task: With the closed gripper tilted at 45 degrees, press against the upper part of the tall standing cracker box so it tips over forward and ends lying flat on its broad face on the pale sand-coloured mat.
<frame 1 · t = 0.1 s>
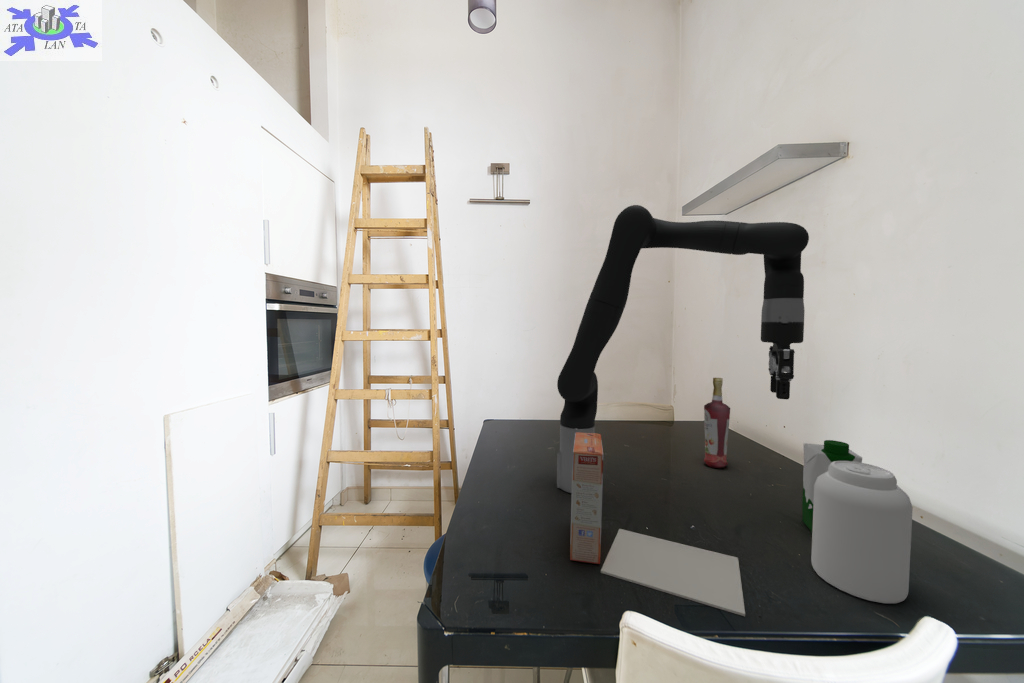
hand: (779, 395, 82), 29 cm above the table, tool pointing down, fingers open, 8 cm apart
mat: (671, 566, 70), on the table
milk carton: (827, 532, 83), on the table
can: (856, 581, 67), on the table
liquor: (715, 466, 121), on the table
cracker box: (586, 544, 77), on the table
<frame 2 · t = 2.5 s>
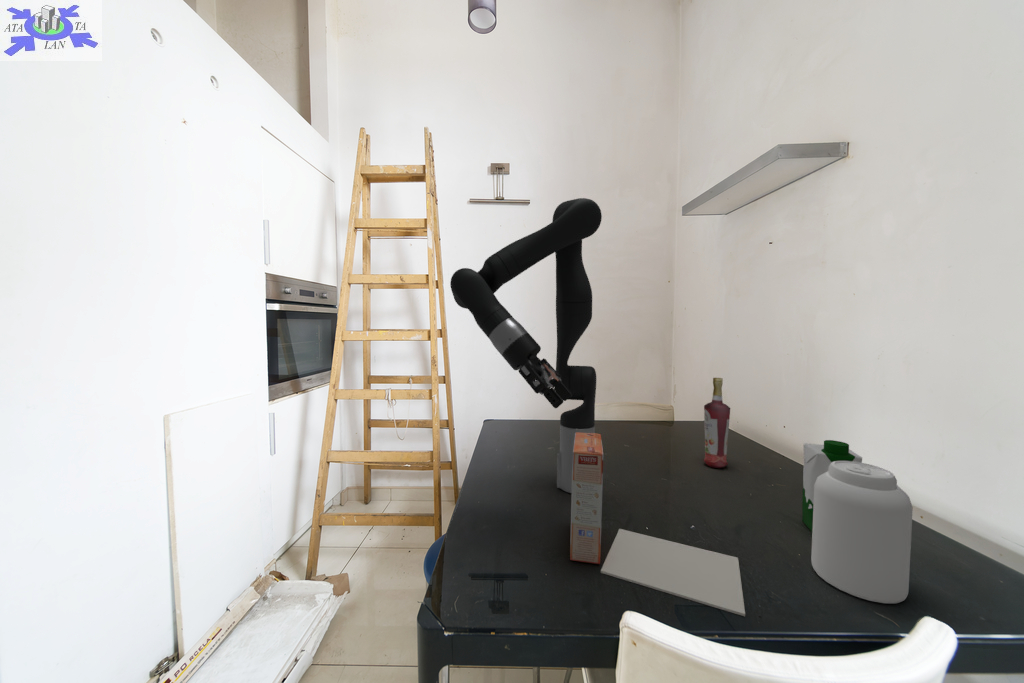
hand: (564, 401, 79), 28 cm above the table, tool tilted 45°, fingers open, 8 cm apart
nothing on the table moved.
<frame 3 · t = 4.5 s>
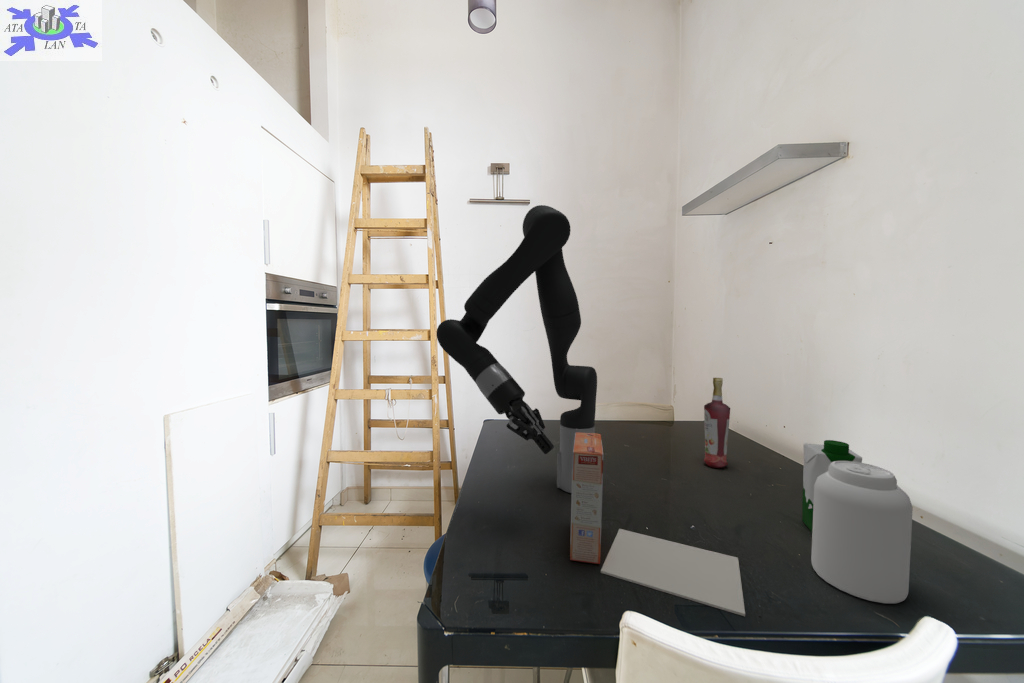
hand: (550, 450, 80), 18 cm above the table, tool tilted 45°, fingers closed
nothing on the table moved.
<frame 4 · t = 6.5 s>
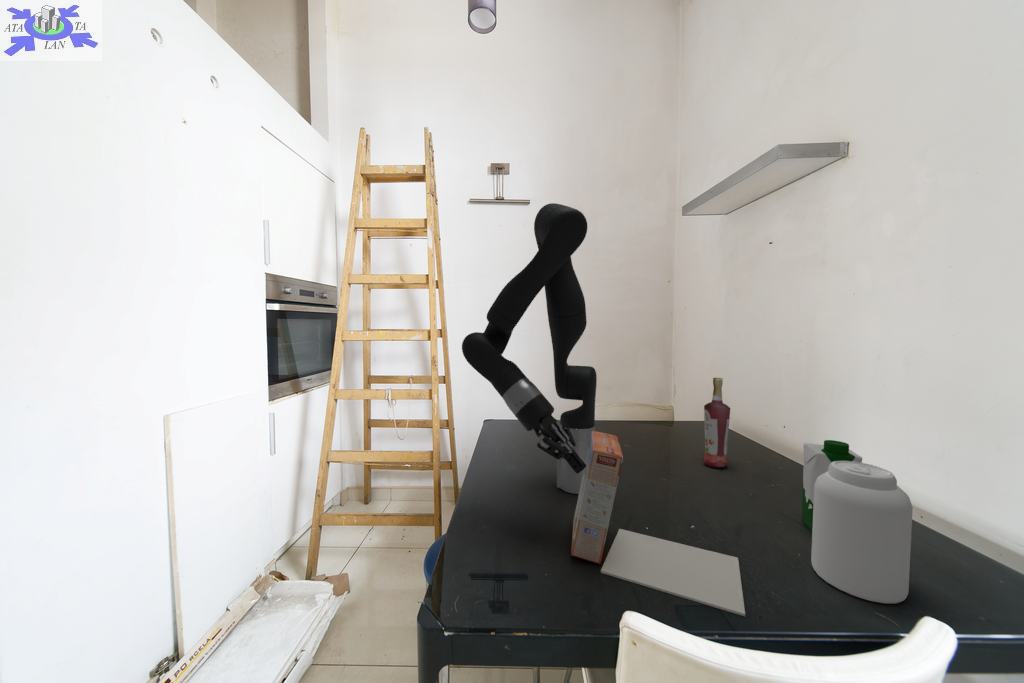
hand: (582, 470, 77), 15 cm above the table, tool tilted 45°, fingers closed
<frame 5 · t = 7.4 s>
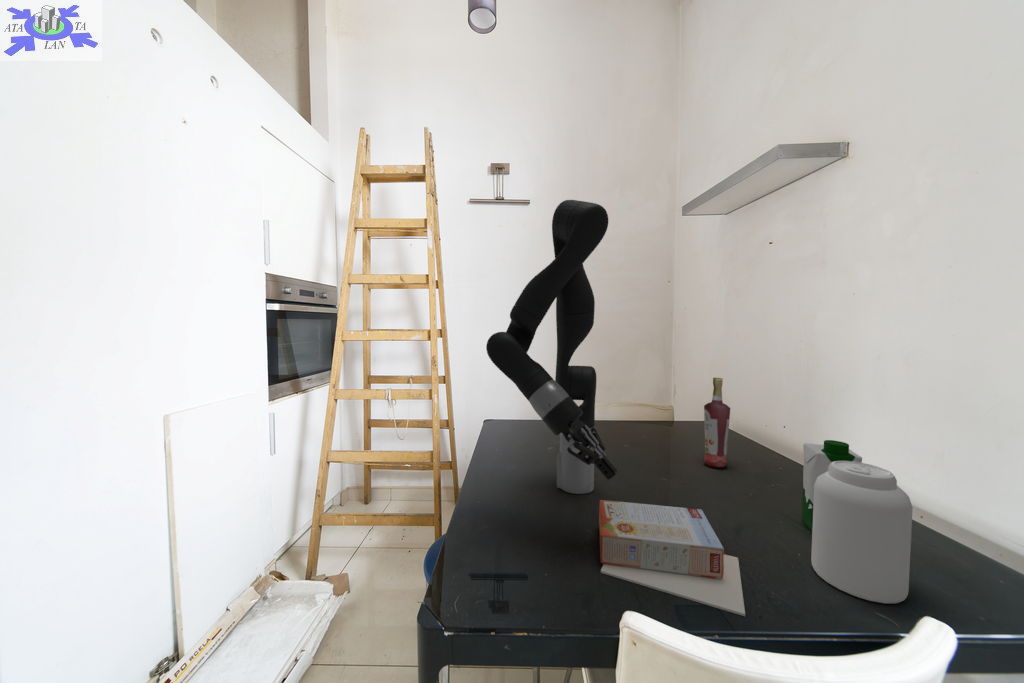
hand: (613, 475, 74), 15 cm above the table, tool tilted 45°, fingers closed
cracker box: (598, 529, 77), point 3 cm above the table, touching mat
everything else where it was.
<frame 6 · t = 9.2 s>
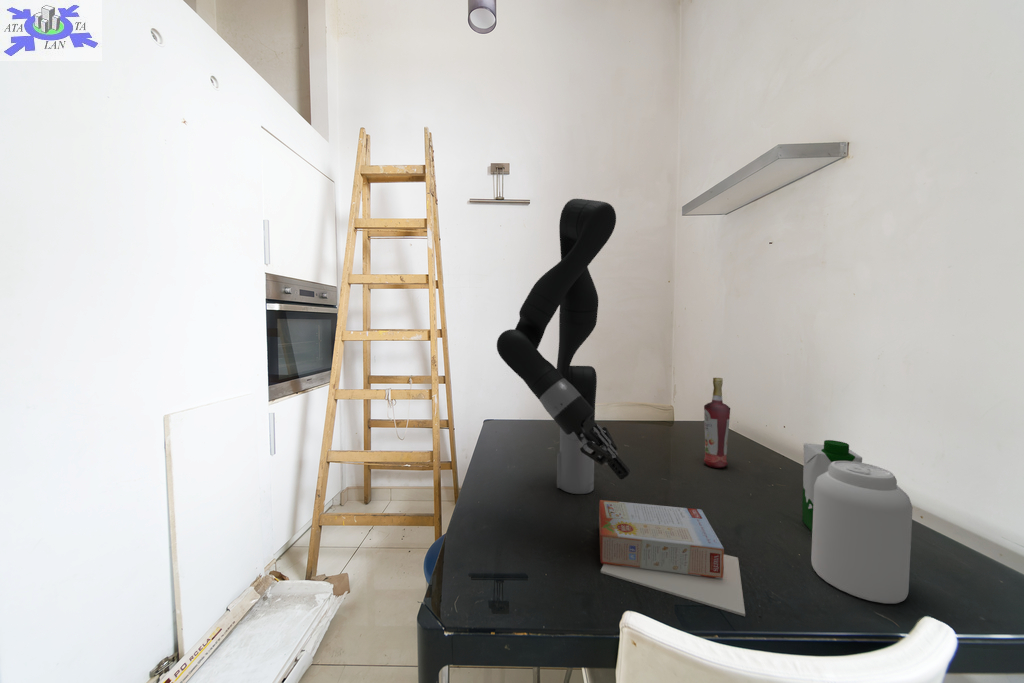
hand: (626, 475, 73), 15 cm above the table, tool tilted 45°, fingers closed
nothing on the table moved.
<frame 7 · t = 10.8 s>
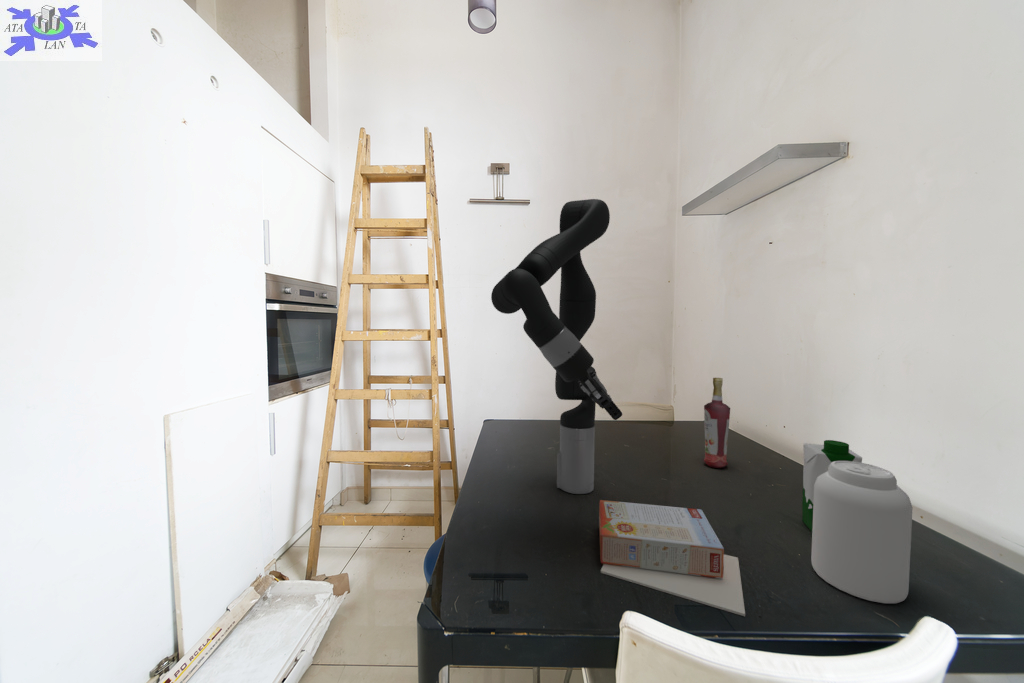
hand: (618, 416, 80), 25 cm above the table, tool tilted 40°, fingers closed
nothing on the table moved.
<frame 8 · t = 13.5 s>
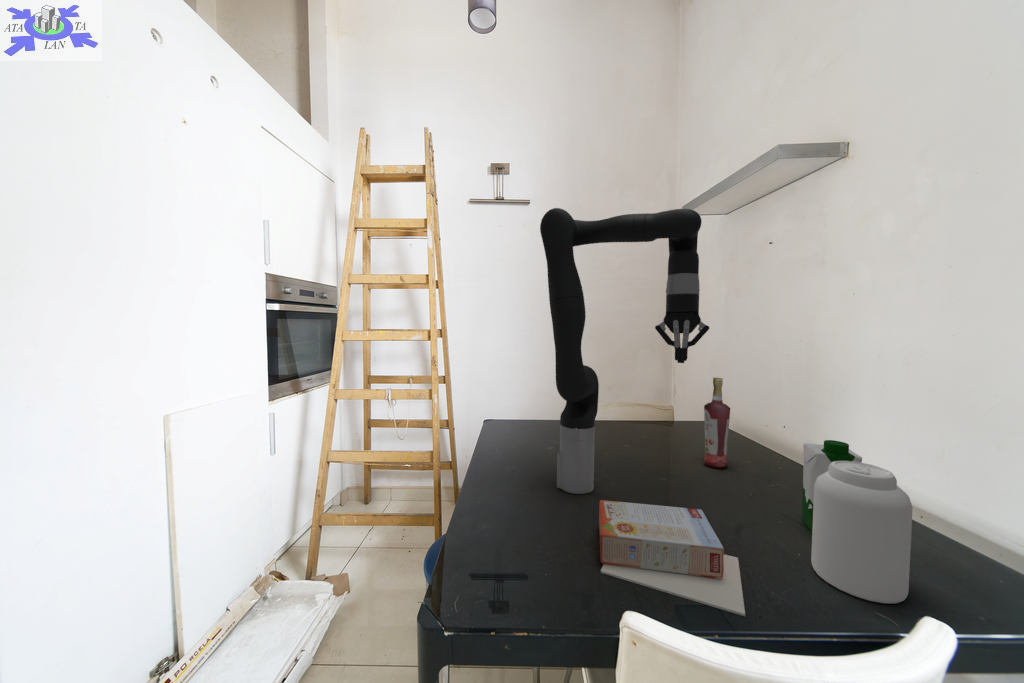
hand: (680, 362, 96), 35 cm above the table, tool pointing down, fingers closed
nothing on the table moved.
at the end: cracker box tilted 89°; cracker box touching mat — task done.
